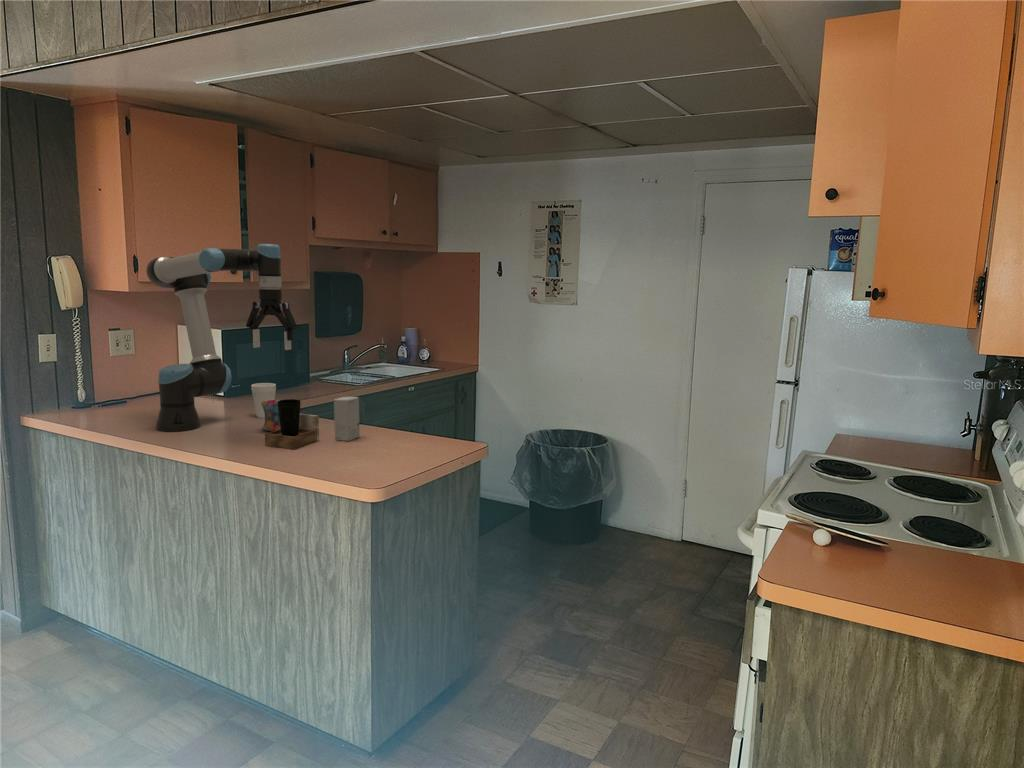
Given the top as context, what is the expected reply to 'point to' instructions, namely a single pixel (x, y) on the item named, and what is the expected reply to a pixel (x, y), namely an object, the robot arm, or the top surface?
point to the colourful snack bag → (271, 415)
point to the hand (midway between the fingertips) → (272, 348)
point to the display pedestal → (305, 436)
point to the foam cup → (262, 396)
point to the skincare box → (346, 418)
